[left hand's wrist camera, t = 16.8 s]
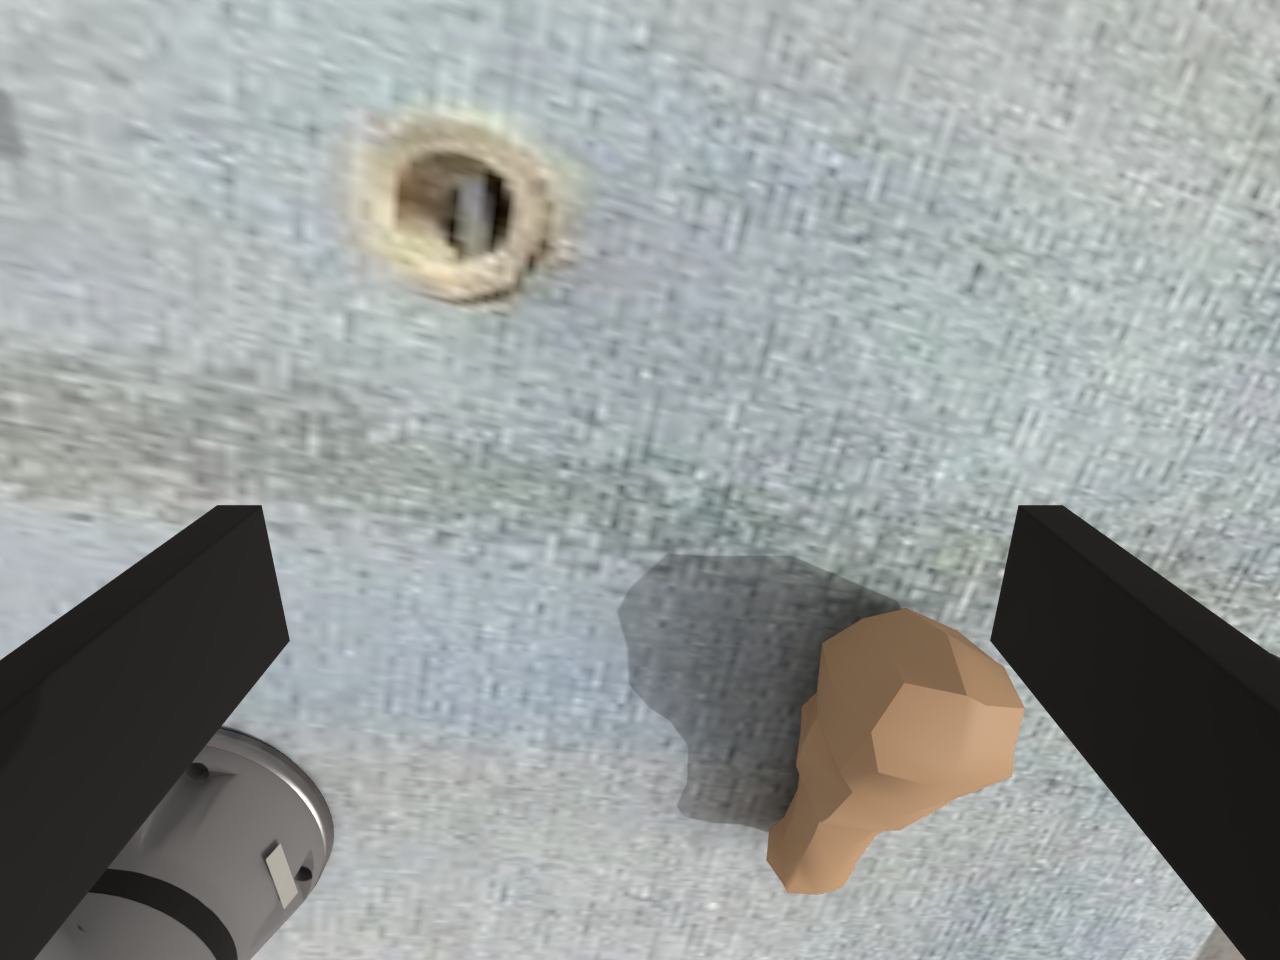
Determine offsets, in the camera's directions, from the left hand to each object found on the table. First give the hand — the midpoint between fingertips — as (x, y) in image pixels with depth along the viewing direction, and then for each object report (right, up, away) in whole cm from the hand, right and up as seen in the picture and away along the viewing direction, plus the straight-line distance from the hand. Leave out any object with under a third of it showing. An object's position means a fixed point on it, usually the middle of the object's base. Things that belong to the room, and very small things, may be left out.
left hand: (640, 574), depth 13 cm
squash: (+13, -13, +31) cm, 36 cm away
